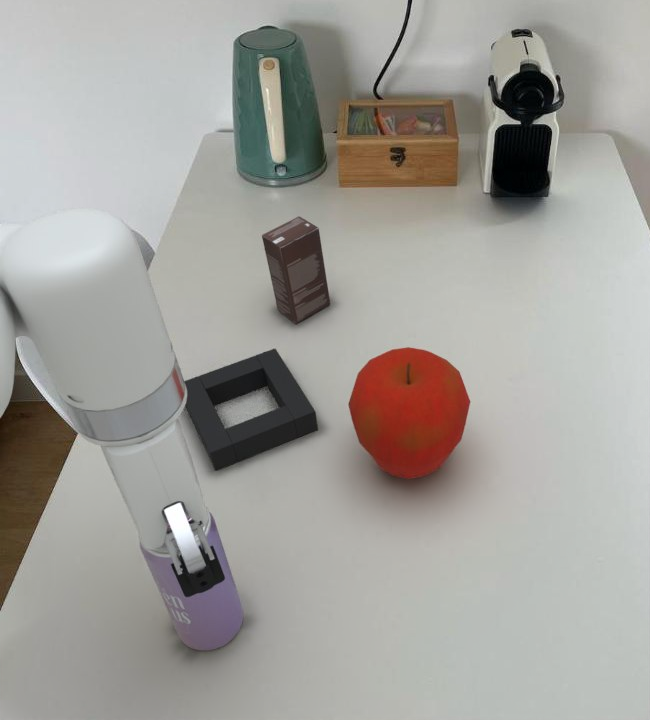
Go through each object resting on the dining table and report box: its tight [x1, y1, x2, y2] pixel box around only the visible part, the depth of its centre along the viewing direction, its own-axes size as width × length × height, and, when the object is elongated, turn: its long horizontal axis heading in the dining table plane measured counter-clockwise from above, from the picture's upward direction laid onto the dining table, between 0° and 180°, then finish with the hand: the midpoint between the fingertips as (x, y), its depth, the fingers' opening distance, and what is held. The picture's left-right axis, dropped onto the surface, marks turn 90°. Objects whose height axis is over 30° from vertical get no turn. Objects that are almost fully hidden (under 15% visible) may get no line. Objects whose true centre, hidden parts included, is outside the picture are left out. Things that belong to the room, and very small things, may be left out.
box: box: [261, 216, 331, 324], centre depth 103 cm, size 6×4×12 cm
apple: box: [347, 346, 471, 480], centre depth 82 cm, size 12×12×14 cm
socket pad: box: [184, 348, 319, 472], centre depth 92 cm, size 12×12×3 cm
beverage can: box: [137, 506, 244, 651], centre depth 68 cm, size 6×6×15 cm
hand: (186, 539), depth 65 cm, fingers open, 9 cm apart
